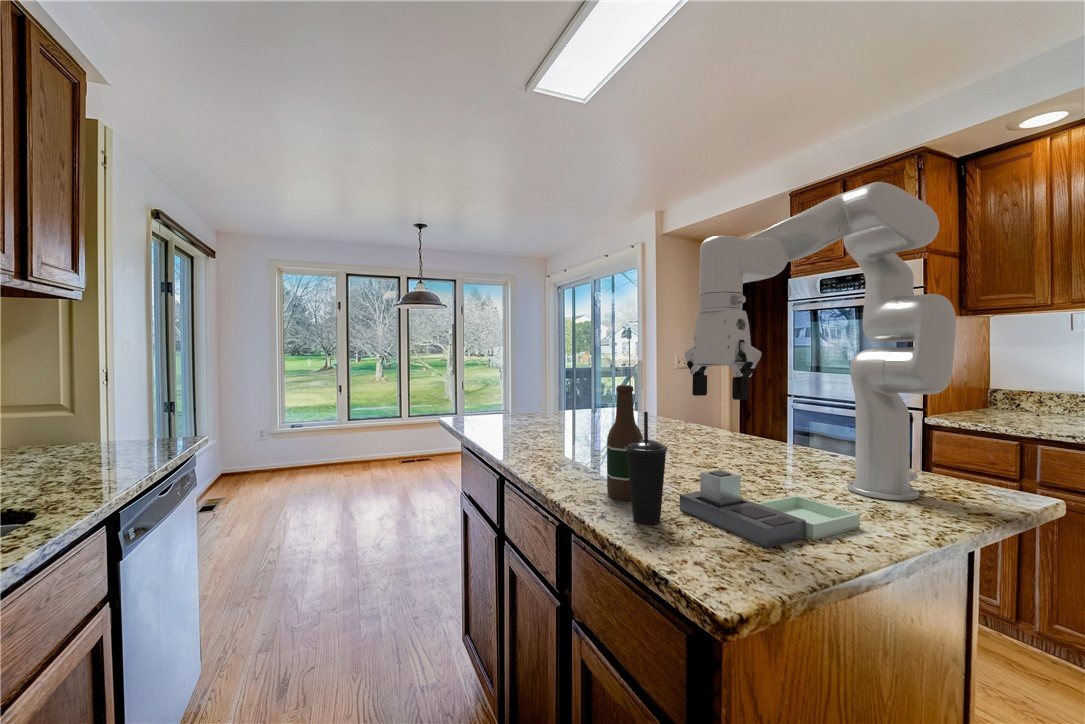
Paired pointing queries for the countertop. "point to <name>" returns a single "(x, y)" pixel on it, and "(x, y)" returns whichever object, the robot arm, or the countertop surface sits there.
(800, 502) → the parts tray
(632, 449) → the drinking cup
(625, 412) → the beer bottle
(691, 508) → the grey slotted block
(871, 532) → the countertop surface
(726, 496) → the block
